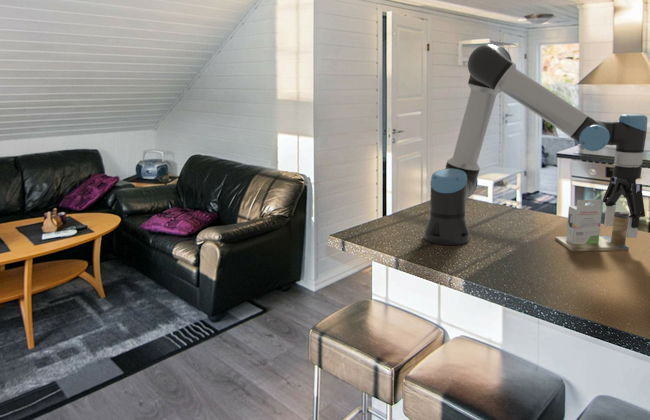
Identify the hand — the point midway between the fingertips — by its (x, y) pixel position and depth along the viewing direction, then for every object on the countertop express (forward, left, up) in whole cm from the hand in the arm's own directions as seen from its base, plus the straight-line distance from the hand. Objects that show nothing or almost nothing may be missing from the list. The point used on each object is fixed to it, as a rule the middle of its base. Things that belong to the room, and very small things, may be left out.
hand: (619, 231), depth 165 cm
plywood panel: (-8, +3, -5) cm, 9 cm away
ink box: (-11, +2, -4) cm, 12 cm away
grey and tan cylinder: (0, 0, -4) cm, 4 cm away
